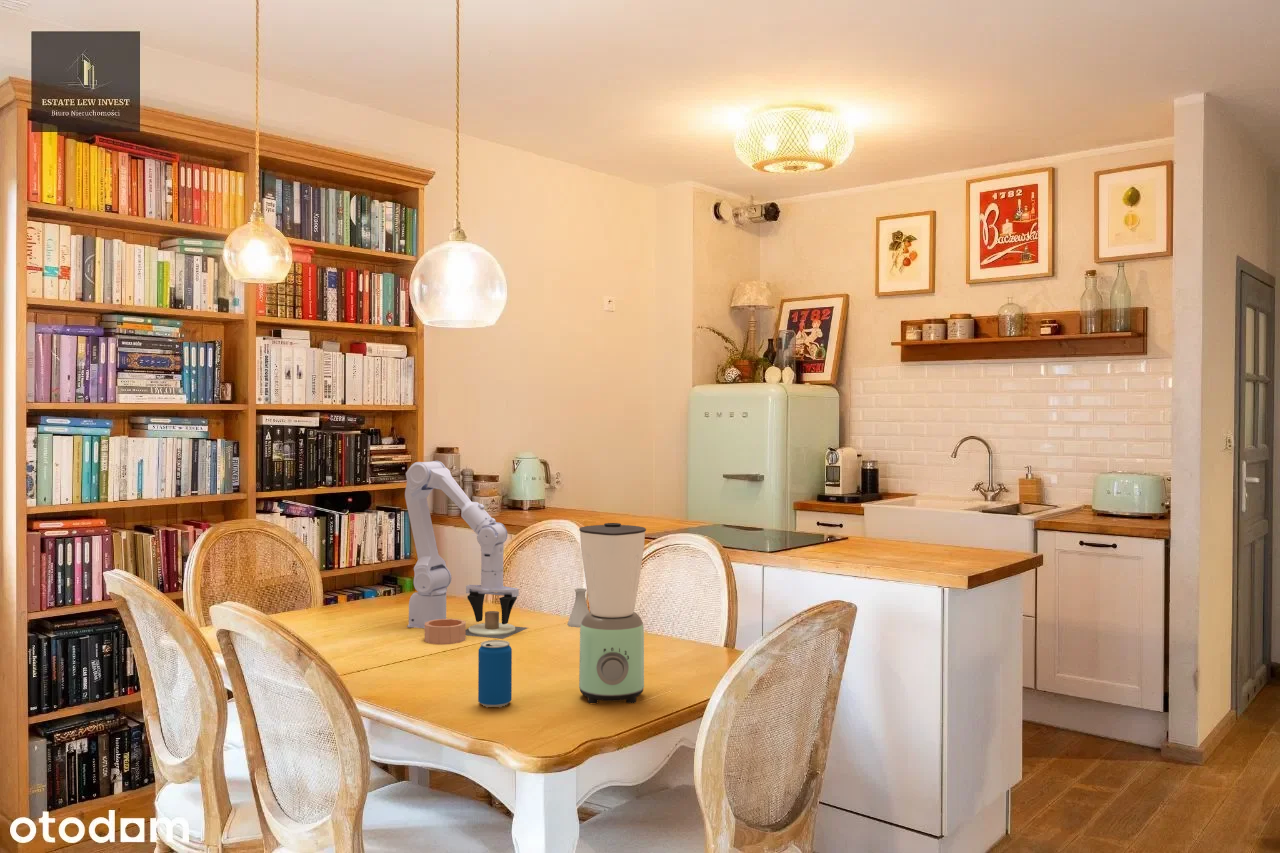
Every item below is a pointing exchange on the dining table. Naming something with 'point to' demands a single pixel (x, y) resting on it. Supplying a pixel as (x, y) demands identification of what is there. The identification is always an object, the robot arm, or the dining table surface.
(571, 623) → the flask
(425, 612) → the robot arm
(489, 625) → the lid
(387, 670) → the dining table surface
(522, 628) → the mat
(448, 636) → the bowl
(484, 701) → the beverage can
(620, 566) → the green blender
